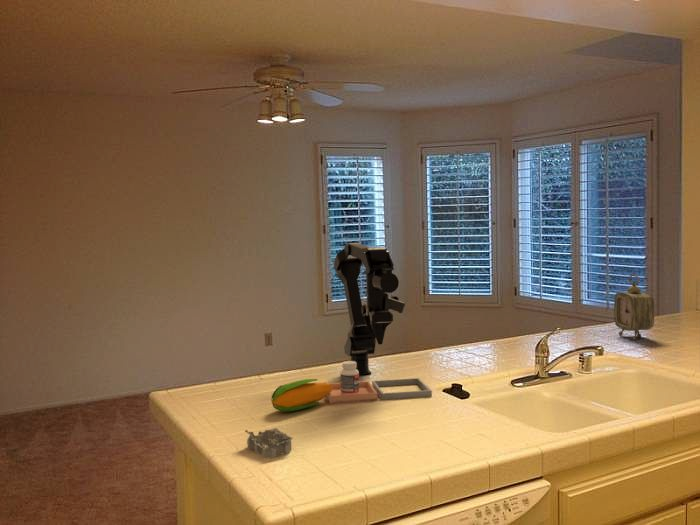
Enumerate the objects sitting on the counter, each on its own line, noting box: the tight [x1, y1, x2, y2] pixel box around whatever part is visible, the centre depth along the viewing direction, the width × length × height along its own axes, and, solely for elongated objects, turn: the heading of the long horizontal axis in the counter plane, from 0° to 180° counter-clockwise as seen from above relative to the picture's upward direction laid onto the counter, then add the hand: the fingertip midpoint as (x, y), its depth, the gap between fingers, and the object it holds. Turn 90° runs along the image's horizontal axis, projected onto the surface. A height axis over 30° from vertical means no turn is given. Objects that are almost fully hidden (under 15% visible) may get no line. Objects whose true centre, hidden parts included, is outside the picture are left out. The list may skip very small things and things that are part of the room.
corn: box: [271, 378, 333, 413], centre depth 174 cm, size 7×8×20 cm
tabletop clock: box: [613, 274, 656, 341], centre depth 255 cm, size 14×9×25 cm, turn 6°
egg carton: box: [244, 427, 294, 459], centre depth 144 cm, size 11×8×4 cm
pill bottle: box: [339, 360, 360, 395], centre depth 184 cm, size 5×5×9 cm
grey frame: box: [371, 377, 433, 400], centre depth 188 cm, size 14×14×2 cm
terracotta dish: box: [325, 380, 378, 405], centre depth 184 cm, size 13×13×2 cm
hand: (377, 341), depth 195 cm, fingers open, 9 cm apart
